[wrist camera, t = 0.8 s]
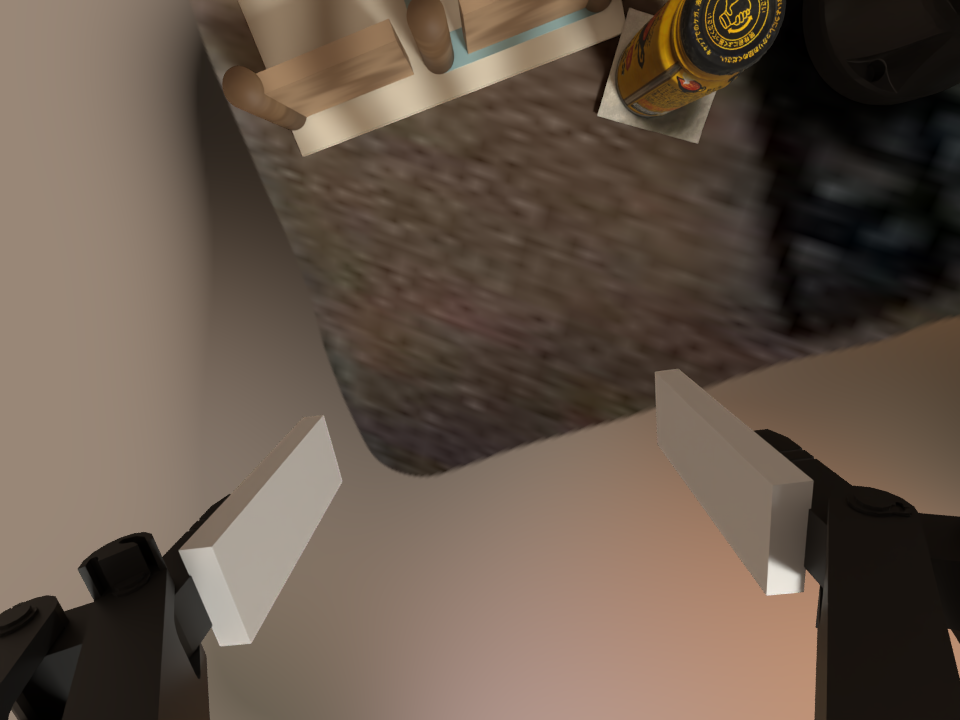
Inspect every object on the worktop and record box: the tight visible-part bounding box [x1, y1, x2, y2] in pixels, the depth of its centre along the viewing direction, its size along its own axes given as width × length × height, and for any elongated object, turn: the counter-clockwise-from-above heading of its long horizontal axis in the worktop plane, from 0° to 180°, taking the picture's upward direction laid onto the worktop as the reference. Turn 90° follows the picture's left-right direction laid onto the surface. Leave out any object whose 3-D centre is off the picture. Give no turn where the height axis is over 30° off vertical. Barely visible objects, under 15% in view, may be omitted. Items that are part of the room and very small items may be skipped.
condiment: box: [597, 0, 786, 144], centre depth 29 cm, size 7×8×12 cm
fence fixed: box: [407, 0, 612, 74], centre depth 30 cm, size 15×2×8 cm, turn 108°
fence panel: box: [222, 19, 414, 131], centre depth 31 cm, size 11×2×8 cm, turn 109°
